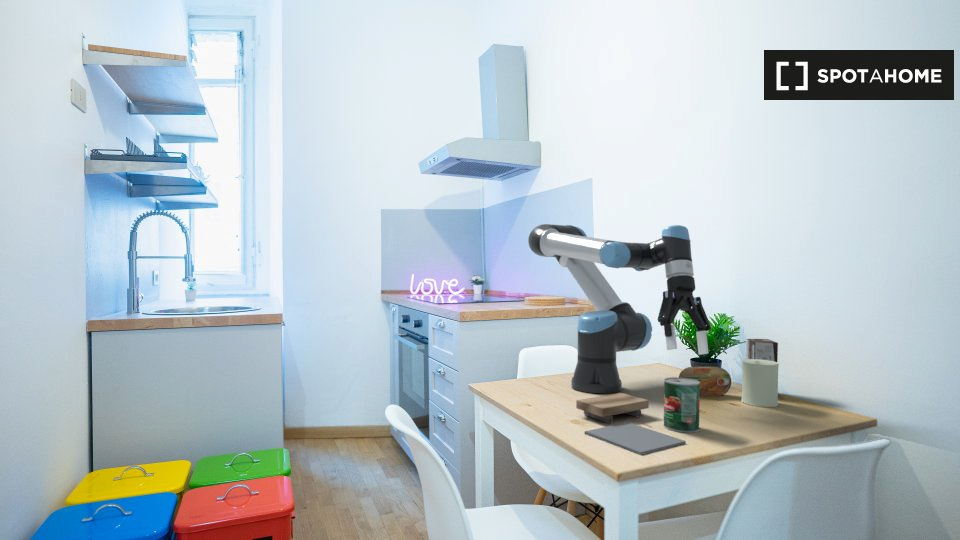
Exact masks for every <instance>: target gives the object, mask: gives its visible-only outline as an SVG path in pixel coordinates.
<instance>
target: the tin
mask: <svg viewBox="0 0 960 540" xmlns="http://www.w3.org/2000/svg"><path fill="white" fill-rule="evenodd" d="M678 377H679V378H689V379H694V380H697V381H699V382H700V395H699V396H700V397H720V396H724V395H725V394H727V393H728V392H729V391H730V389H731V387H732V378H731V375H730V373H729V372H728V370H726V369H724V368H723V367H719V366H688V367H686V368H684V369H682V370H681V371H680V373H679V375H678Z"/></svg>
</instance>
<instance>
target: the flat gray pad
mask: <svg viewBox="0 0 960 540" xmlns="http://www.w3.org/2000/svg"><path fill="white" fill-rule="evenodd" d="M584 434H585V435H588V436H590V437H592V438H595V439H599V440H601V441H603V442H606V443H609V444H611V445H613V446H617V447H619V448H621V449H624V450H626V451H629V452H632V453H635V454H638V455H641V456H642V455H645V454H646V455H647V454H649V453H653V452H657V451H662V450H665V449H669V448H673V447H677V446H681V445H684V444H686V442H687V441H686V440H683V439H681V438H678V437H674V436H671V435H668V434H666V433H663V432H659V431H656V430H653V429H649V428H647V427H645V426H641V425H637V424H634V423H632V422H624V423H618V424H614V425H609V426H604V427H599V428H594V429H589V430H585V431H584ZM680 444H681V445H680ZM676 445H677V446H676Z"/></svg>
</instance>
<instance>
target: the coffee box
mask: <svg viewBox="0 0 960 540" xmlns="http://www.w3.org/2000/svg"><path fill="white" fill-rule="evenodd" d="M778 352H779V343H778V342H777V341H774V340H771V339H769V338H746V359H760V360H769V361H774V362H777V363H778V355H779V354H778Z"/></svg>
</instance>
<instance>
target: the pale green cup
mask: <svg viewBox="0 0 960 540" xmlns="http://www.w3.org/2000/svg"><path fill="white" fill-rule="evenodd" d="M741 362H742V367H741V368H742V372H741V373H742V374H741V375H742V378H741V379H742V380H741V381H742V383H741V399H740V401H741V402H742V403H743V402H744V403H743V404H745V403H746V404H745V405H748V404H749V406H752V405H753V406H752V407H758V406H759V407H760V408H775V407H778V406H779V401H778V400H779V399H778V398H779V395H778V394H779V387H778V386H779V366H780V364H779V362H778V361H777V362H774V361H769V360H760V359H747V358H746V359H742V360H741ZM759 407H758V408H759Z"/></svg>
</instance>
